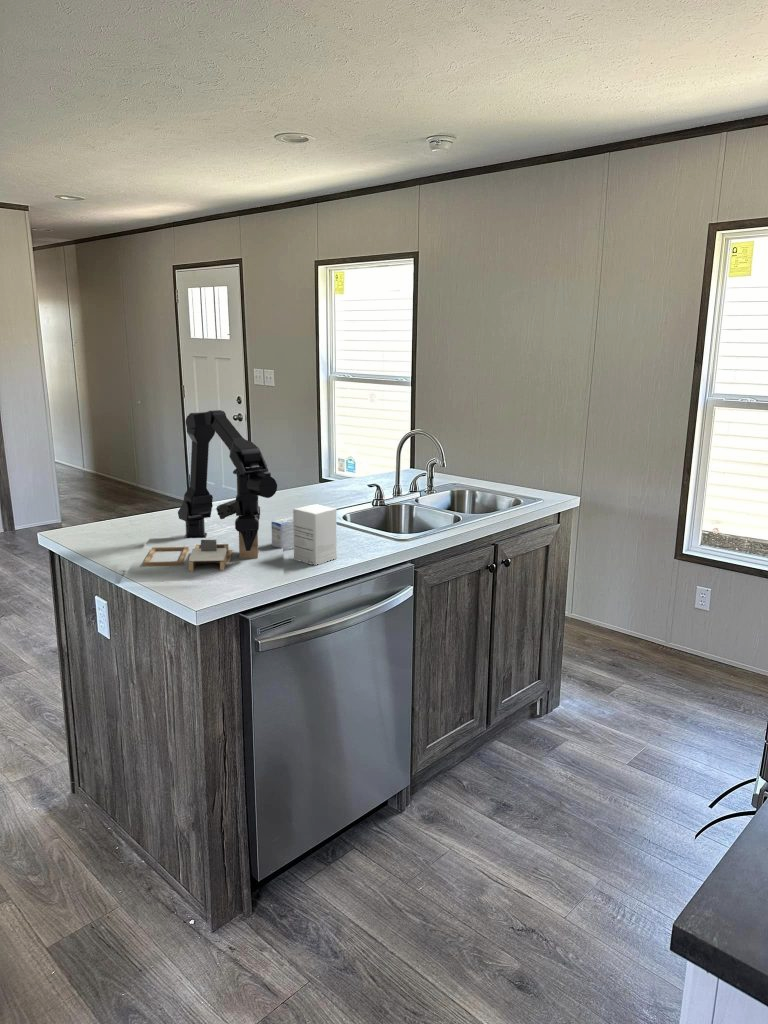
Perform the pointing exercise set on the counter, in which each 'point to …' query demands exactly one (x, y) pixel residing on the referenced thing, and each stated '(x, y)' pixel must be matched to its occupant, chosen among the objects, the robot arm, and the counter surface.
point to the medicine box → (283, 533)
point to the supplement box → (315, 534)
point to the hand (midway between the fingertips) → (248, 546)
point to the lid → (208, 552)
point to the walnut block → (242, 550)
